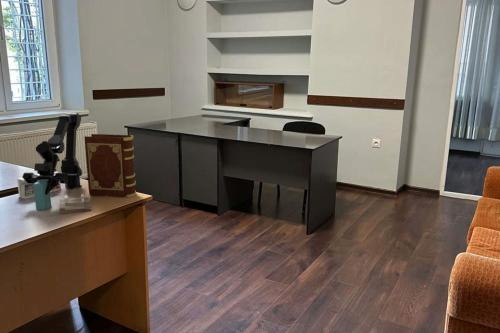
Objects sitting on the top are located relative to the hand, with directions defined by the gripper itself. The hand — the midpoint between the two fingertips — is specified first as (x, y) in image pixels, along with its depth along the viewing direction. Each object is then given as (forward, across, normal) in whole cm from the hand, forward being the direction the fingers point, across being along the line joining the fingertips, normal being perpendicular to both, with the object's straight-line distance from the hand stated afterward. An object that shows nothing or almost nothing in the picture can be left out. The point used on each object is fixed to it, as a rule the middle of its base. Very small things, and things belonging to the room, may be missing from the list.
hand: (40, 194), depth 186 cm
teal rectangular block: (+4, 0, +6) cm, 7 cm away
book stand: (+2, +13, +7) cm, 15 cm away
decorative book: (-11, +25, +21) cm, 34 cm away
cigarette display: (-12, -12, +22) cm, 27 cm away
